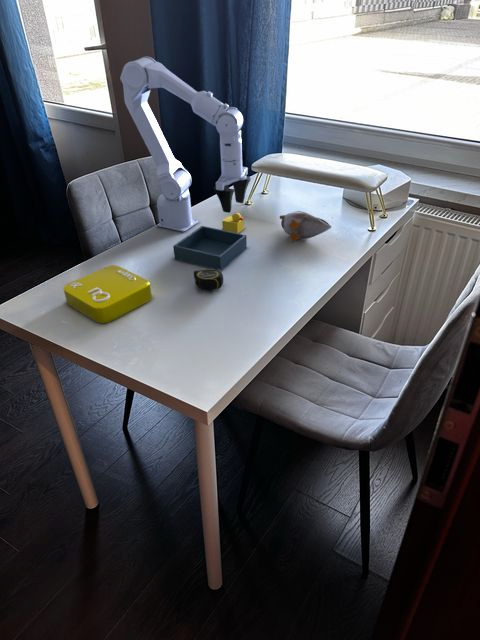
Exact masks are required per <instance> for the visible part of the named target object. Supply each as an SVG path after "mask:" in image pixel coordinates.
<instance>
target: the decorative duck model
mask: <svg viewBox="0 0 480 640" xmlns="http://www.w3.org/2000/svg"><path fill="white" fill-rule="evenodd" d="M279 219H280V220H281V222H280V225H281V228H282V229H283V231H284V232H285V234H287V235H288V238H289V239H290V240H291V243H295V242H296V241H297V240H308V239H311V238H314V237H317V236H319V235H321V234H323V233H325V232H327V231H328V230H330V229H332V226H331V224H329V222H328V221H327V220H324V219H323V218H320V217H316V216H314V215H313V214H310V213H308V212H306V211H302V210H295V211H292V212H289V213H286V214H281V215H279Z"/></svg>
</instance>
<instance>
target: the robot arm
mask: <svg viewBox="0 0 480 640" xmlns="http://www.w3.org/2000/svg"><path fill="white" fill-rule="evenodd" d="M119 79H120V81H121V83H122V88H123V99H124V104H125V106H126V109H127V110H128V112H129V115H130V116H131V118H132V120H133V122H134V125H135V126H136V128H137V130H138V132H139V134H140V136H141V138H142V140H143V142H144V144H145V146H146V148H147V150H148V152H149V154H150V155H151V158H152V159H153V162H154V164H155V166H156V167H157V169H156V179H157V182H158V183H159V191H160V193H161V194H160V195H159V196H158V198H157V201H156V210H157V216H158V222H159V223H157V226H158V227H159V228H164V229H169V230H173V231H177V232H183V233H184V232H186V231H188V230H189V229H191V228H192V227H194V226H195V225H196V224H198V223H199V220H196V219H193V215H192V204H191V194H190V191H189V188H190V186H191V185H192V176H191V174H190V173H189V171H188V170H187V169H186V168H185V167H184V166H183V165H182V162H180V161H179V160H177V159H176V158H175V156H174V155H173V153H172V150H171V148H170V147H169V144H168V141H167V140H166V138H165V136H164V134H163V131H162V130H161V128H160V126H159V123H158V121H157V119H156V117H155V115H154V113H153V111H152V109H151V107H150V105H149V103H148V99H149V97H150V93H151V90H152V89H165V90H166V91H168V92H170V93H171V94H173V95H175V96H177V97H178V98H179V99H181V100H183V101H184V102H186V103H188V104H190V106H191V109H192V112H193V113H194V114H195V115H197V116H199V117H200V118H202V119H203V120H205V121H206V122H208V123H209V124H211V125H212V126H214V127H215V129H216V131H217V133H218V134H219V150H220V151H219V152H220V169H221V173H220V176H219V178H218V180H217V181H215V186H213V192H214V193H215V194H216V196H217V198H218V201H219V203H220V206H221V209H222V211H223V213H228V214H229V213H231V212H232V201H233V196H234V199H235V202H236V204H237V203H239V204H244V202H245V198H246V193H247V189H248V187H249V184H250V182H251V177H250V176H247V175H248V174H249V173H248V170H249V168H248V167H246V166H243V144H242V141H243V140H242V130H241V129H242V127H243V125H244V116H243V114H242V112H241V111H240V110H239V109H238V108H237V107H234V106H230V105H229V104H227V103H223V102H222V101H220V100H219V99H217V98H216V97H214V96H213V95H214V93H213V92H211V91H210V90H208V91H206V90H201V91H197V90H195V89H194V87H192V86H190V85H189V84H188V83H186V82H185V81H183V80H182V79H181V78H179V77H178V76H177V75H176V74H174V73H173V72H172V71H170V70H169V69H168V68H166V66H165V65H163V63H161V62H159V61H156V60H155V59H154V58H153V57H150V56H142V57H140V58H138V59H136V60H133V61H128V62H126V63H125V64H124V66H123V68H122V71H121V73H120V77H119ZM231 184H232V186H233V188H230V186H229V185H231Z"/></svg>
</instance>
